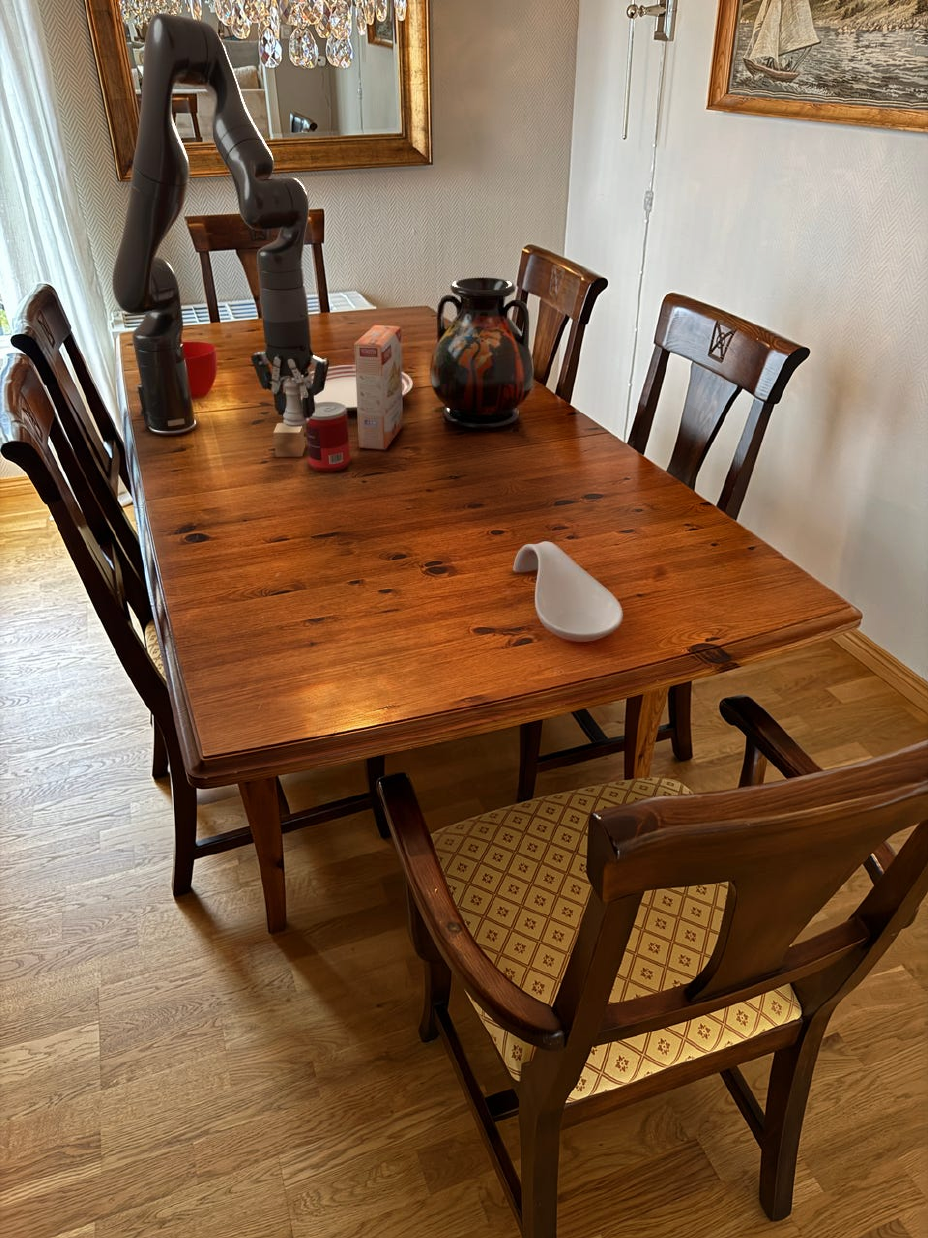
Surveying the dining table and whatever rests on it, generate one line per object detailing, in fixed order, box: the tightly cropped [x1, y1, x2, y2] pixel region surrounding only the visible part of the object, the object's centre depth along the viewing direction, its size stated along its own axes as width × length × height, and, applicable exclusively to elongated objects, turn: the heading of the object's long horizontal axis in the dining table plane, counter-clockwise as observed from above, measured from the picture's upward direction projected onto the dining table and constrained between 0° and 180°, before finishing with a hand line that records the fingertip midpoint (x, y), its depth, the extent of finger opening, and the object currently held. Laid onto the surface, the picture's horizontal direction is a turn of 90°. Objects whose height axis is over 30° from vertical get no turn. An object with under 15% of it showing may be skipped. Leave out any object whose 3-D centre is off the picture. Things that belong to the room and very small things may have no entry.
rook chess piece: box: [282, 376, 309, 427], centre depth 154 cm, size 4×4×8 cm
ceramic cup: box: [182, 341, 218, 399], centre depth 204 cm, size 13×17×10 cm
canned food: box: [304, 402, 351, 473], centre depth 168 cm, size 8×8×11 cm
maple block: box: [272, 422, 306, 458], centre depth 175 cm, size 5×5×5 cm
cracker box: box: [353, 324, 404, 451], centre depth 177 cm, size 14×6×21 cm, turn 168°
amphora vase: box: [429, 276, 535, 433], centre depth 184 cm, size 22×22×28 cm
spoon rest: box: [512, 541, 624, 643], centre depth 126 cm, size 24×12×7 cm, turn 21°
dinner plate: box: [301, 364, 414, 412], centre depth 202 cm, size 27×27×3 cm
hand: (295, 414), depth 155 cm, fingers closed on rook chess piece, 4 cm apart
